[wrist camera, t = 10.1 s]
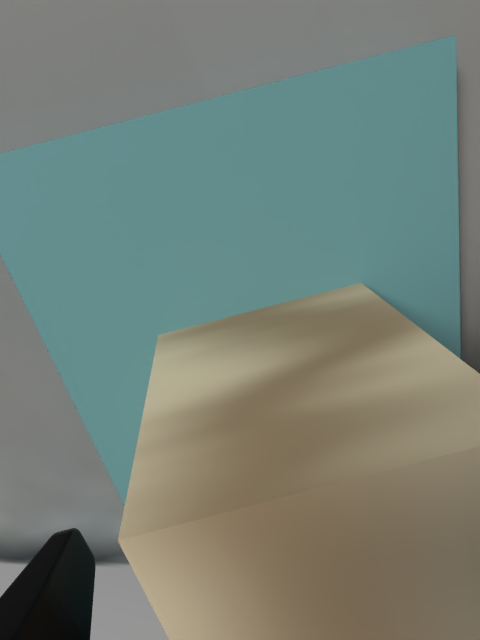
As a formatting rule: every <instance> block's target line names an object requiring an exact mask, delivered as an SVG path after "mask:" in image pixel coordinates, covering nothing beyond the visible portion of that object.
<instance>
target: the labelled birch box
mask: <svg viewBox="0 0 480 640" xmlns="http://www.w3.org/2000/svg"><path fill="white" fill-rule="evenodd" d="M118 542H119V544H120V546H121V548H122V550H123V552H124V554H125V556H126V557H127V559H128V561H129V563H130V565H131V567H132V569H133V571H134V573H135V575H136V577H137V579H138V580H139V583H140V584H141V586H142V588H143V590H144V592H145V594H146V596H147V598H148V600H149V602H150V604H151V605H152V608H153V609H154V611H155V613H156V615H157V617H158V619H159V621H160V623H161V625H162V627H163V629H164V631H165V633H166V635H167V636H168V638H169V640H480V374H479V373H478V372H477V371H475V370H474V369H473V368H471V367H470V366H469V365H468V364H466V363H465V362H464V361H462V360H461V359H460V358H458V357H457V356H456V355H455V354H453V353H452V352H451V351H449V350H448V349H447V348H445V347H444V346H443V345H442V344H440V343H439V342H438V341H436V340H435V339H434V338H432V337H431V336H430V335H429V334H427V333H426V332H425V331H423V330H422V329H421V328H419V327H418V326H417V325H416V324H414V323H413V322H412V321H410V320H409V319H408V318H406V317H405V316H404V315H402V314H401V313H400V312H399V311H397V310H396V309H395V308H393V307H392V306H391V305H389V304H388V303H387V302H386V301H384V300H383V299H382V298H380V297H379V296H378V295H376V294H375V293H374V292H373V291H371V290H370V289H369V288H367V287H366V286H365V285H363V284H362V283H358V284H354V285H351V286H347V287H343V288H339V289H335V290H331V291H327V292H323V293H320V294H316V295H312V296H308V297H304V298H300V299H296V300H292V301H289V302H285V303H281V304H277V305H273V306H269V307H265V308H261V309H258V310H254V311H250V312H246V313H242V314H238V315H234V316H230V317H227V318H223V319H219V320H215V321H211V322H207V323H203V324H199V325H196V326H192V327H188V328H184V329H180V330H176V331H172V332H168V333H165V334H161V335H158V339H157V344H156V349H155V354H154V359H153V365H152V370H151V375H150V380H149V385H148V390H147V395H146V400H145V405H144V410H143V415H142V421H141V426H140V431H139V436H138V441H137V446H136V451H135V456H134V461H133V466H132V472H131V477H130V482H129V487H128V492H127V497H126V502H125V507H124V512H123V517H122V522H121V528H120V533H119V538H118Z"/></svg>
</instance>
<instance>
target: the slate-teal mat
mask: <svg viewBox="0 0 480 640" xmlns="http://www.w3.org/2000/svg"><path fill="white" fill-rule="evenodd" d="M0 255H1V257H2V259H3V261H4V263H5V265H6V267H7V269H8V271H9V273H10V275H11V277H12V279H13V281H14V283H15V285H16V287H17V289H18V291H19V293H20V295H21V297H22V299H23V301H24V303H25V305H26V307H27V309H28V311H29V313H30V316H31V318H32V320H33V322H34V324H35V326H36V328H37V330H38V332H39V334H40V336H41V338H42V340H43V342H44V344H45V346H46V348H47V350H48V352H49V354H50V356H51V358H52V360H53V362H54V364H55V366H56V368H57V370H58V372H59V374H60V376H61V378H62V380H63V382H64V384H65V386H66V389H67V391H68V393H69V395H70V397H71V399H72V401H73V403H74V405H75V407H76V409H77V411H78V413H79V415H80V417H81V419H82V421H83V423H84V425H85V427H86V429H87V431H88V433H89V435H90V437H91V439H92V441H93V443H94V445H95V447H96V449H97V451H98V453H99V455H100V457H101V460H102V462H103V464H104V466H105V468H106V470H107V472H108V474H109V476H110V478H111V480H112V482H113V484H114V486H115V488H116V490H117V492H118V494H119V496H120V498H121V500H122V502H123V504H124V506H125V502H126V497H127V492H128V487H129V482H130V477H131V472H132V466H133V461H134V456H135V451H136V446H137V441H138V436H139V431H140V426H141V421H142V415H143V410H144V405H145V400H146V395H147V390H148V385H149V380H150V375H151V370H152V365H153V359H154V354H155V349H156V344H157V339H158V335H161V334H165V333H168V332H172V331H176V330H180V329H184V328H188V327H192V326H196V325H199V324H203V323H207V322H211V321H215V320H219V319H223V318H227V317H230V316H234V315H238V314H242V313H246V312H250V311H254V310H258V309H261V308H265V307H269V306H273V305H277V304H281V303H285V302H289V301H292V300H296V299H300V298H304V297H308V296H312V295H316V294H320V293H323V292H327V291H331V290H335V289H339V288H343V287H347V286H351V285H354V284H358V283H362V284H363V285H365V286H366V287H367V288H369V289H370V290H371V291H373V292H374V293H375V294H376V295H378V296H379V297H380V298H382V299H383V300H384V301H386V302H387V303H388V304H389V305H391V306H392V307H393V308H395V309H396V310H397V311H399V312H400V313H401V314H402V315H404V316H405V317H406V318H408V319H409V320H410V321H412V322H413V323H414V324H416V325H417V326H418V327H419V328H421V329H422V330H423V331H425V332H426V333H427V334H429V335H430V336H431V337H432V338H434V339H435V340H436V341H438V342H439V343H440V344H442V345H443V346H444V347H445V348H447V349H448V350H449V351H451V352H452V353H453V354H455V355H456V356H457V357H458V358H460V359H461V335H460V268H459V201H458V133H457V66H456V35H454V36H450V37H446V38H442V39H438V40H434V41H431V42H427V43H423V44H419V45H415V46H411V47H408V48H404V49H400V50H396V51H392V52H388V53H385V54H381V55H377V56H373V57H369V58H365V59H362V60H358V61H354V62H350V63H346V64H342V65H338V66H335V67H331V68H327V69H323V70H319V71H315V72H312V73H308V74H304V75H300V76H296V77H292V78H289V79H285V80H281V81H277V82H273V83H269V84H266V85H262V86H258V87H254V88H250V89H246V90H242V91H239V92H235V93H231V94H227V95H223V96H219V97H216V98H212V99H208V100H204V101H200V102H196V103H193V104H189V105H185V106H181V107H177V108H173V109H169V110H166V111H162V112H158V113H154V114H150V115H146V116H143V117H139V118H135V119H131V120H127V121H123V122H120V123H116V124H112V125H108V126H104V127H100V128H97V129H93V130H89V131H85V132H81V133H77V134H73V135H70V136H66V137H62V138H58V139H54V140H50V141H47V142H43V143H39V144H35V145H31V146H27V147H24V148H20V149H16V150H12V151H8V152H4V153H1V154H0Z"/></svg>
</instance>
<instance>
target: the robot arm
mask: <svg viewBox="0 0 480 640" xmlns="http://www.w3.org/2000/svg"><path fill="white" fill-rule="evenodd" d="M94 579H95V559H94V556H93V553H92V552H91V550H90V548H89V547H88V545H87V543H86V541H85V540H84V538H83V536H82V534H81V533H80V531H79V530H78V529H76V528H72V529H68V530H64V531H61V532H57V533H55V534H54V535H52V536H51V537H50V538H49V540H48V541H47V542H46V543H45V544H44V546H43V547H42V548H41V549H40V550H39V552H38V553H37V554H36V555H35V556H34V558H33V559H32V560H31V561H30V562H29V564H28V565H27V566H26V567H25V569H24V570H23V571H22V572H21V573H20V574H19V576H18V577H17V578H16V579H15V581H14V582H13V583H12V584H11V585H10V587H9V588H8V589H7V590H6V591H5V593H4V594H3V595H2V596H1V597H0V640H90V631H91V618H92V605H93V592H94Z"/></svg>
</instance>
